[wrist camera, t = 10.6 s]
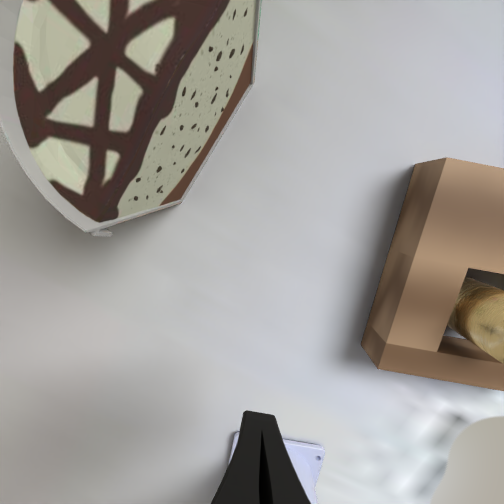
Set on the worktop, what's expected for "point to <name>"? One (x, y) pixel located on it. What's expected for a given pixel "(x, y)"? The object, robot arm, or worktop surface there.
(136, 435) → the worktop surface
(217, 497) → the robot arm
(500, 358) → the gold rounded cylinder
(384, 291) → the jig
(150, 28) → the food container
